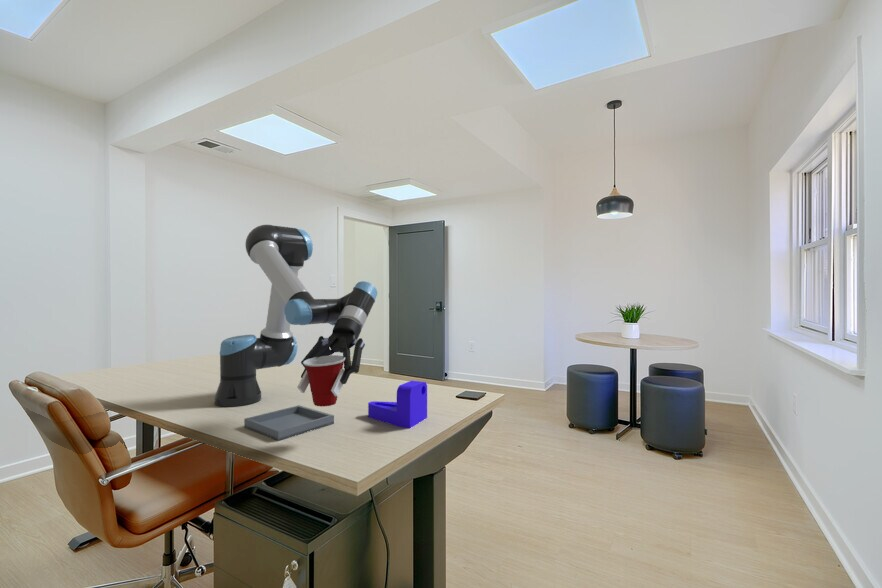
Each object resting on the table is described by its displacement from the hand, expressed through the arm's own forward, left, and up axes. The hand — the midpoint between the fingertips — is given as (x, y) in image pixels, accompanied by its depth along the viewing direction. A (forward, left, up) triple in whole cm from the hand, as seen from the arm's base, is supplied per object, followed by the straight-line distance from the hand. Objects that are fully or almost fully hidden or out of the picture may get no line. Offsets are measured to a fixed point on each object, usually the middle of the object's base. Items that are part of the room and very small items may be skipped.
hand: (317, 391), depth 104 cm
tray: (-20, +5, -14) cm, 25 cm away
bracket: (0, +28, -14) cm, 32 cm away
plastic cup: (-1, +3, -4) cm, 5 cm away
